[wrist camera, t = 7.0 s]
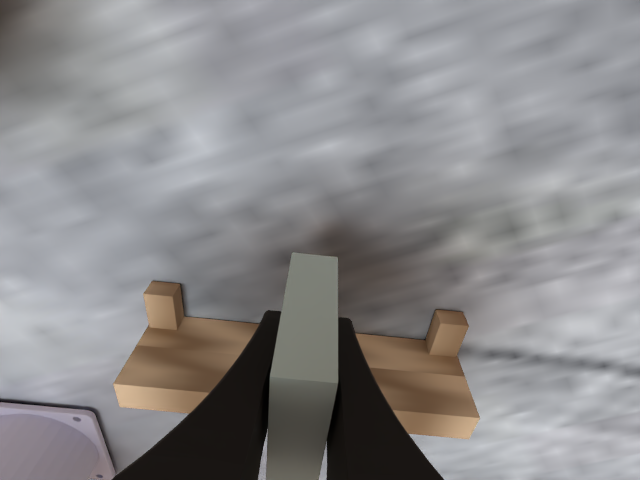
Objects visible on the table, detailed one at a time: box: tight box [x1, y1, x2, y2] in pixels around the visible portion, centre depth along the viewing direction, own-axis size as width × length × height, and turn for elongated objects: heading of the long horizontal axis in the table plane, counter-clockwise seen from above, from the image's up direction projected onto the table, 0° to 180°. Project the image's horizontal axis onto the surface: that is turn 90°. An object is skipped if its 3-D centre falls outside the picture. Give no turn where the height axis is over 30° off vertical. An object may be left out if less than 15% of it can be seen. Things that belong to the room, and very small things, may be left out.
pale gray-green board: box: [266, 252, 338, 480], centre depth 15 cm, size 2×16×5 cm, turn 174°
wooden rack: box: [113, 281, 480, 439], centre depth 18 cm, size 16×6×4 cm, turn 84°
